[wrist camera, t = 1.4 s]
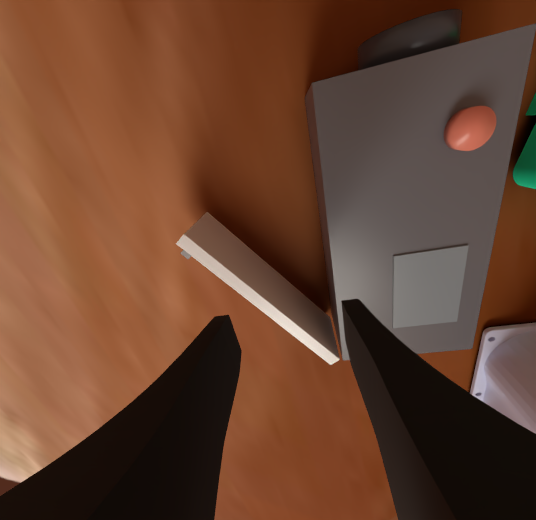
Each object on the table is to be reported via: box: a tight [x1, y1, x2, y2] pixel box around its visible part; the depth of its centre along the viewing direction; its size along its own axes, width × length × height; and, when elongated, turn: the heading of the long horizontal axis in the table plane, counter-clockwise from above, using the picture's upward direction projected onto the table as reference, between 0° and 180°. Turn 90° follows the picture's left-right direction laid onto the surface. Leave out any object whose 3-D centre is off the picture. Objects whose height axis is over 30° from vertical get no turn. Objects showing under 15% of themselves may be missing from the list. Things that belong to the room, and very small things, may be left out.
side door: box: [176, 212, 340, 365], centre depth 18 cm, size 13×2×4 cm, turn 47°
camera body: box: [305, 9, 536, 360], centre depth 15 cm, size 17×8×5 cm, turn 12°
